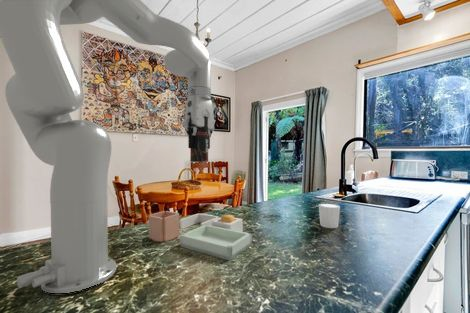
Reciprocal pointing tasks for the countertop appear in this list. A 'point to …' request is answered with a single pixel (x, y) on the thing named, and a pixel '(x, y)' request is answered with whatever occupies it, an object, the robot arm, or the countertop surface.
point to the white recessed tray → (211, 222)
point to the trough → (216, 241)
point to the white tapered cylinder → (329, 215)
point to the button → (227, 218)
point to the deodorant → (200, 144)
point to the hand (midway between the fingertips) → (199, 148)
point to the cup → (163, 226)
